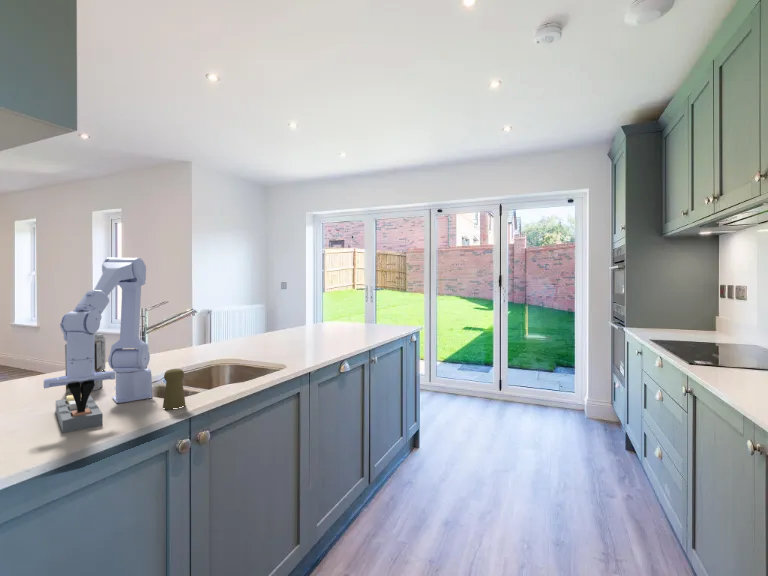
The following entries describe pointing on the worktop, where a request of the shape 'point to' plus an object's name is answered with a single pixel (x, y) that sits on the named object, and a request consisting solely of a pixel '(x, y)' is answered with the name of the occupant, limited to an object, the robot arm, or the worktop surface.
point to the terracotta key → (75, 413)
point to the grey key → (73, 405)
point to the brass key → (69, 399)
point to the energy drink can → (98, 338)
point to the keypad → (80, 421)
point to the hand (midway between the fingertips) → (81, 411)
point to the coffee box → (97, 364)
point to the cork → (174, 389)
